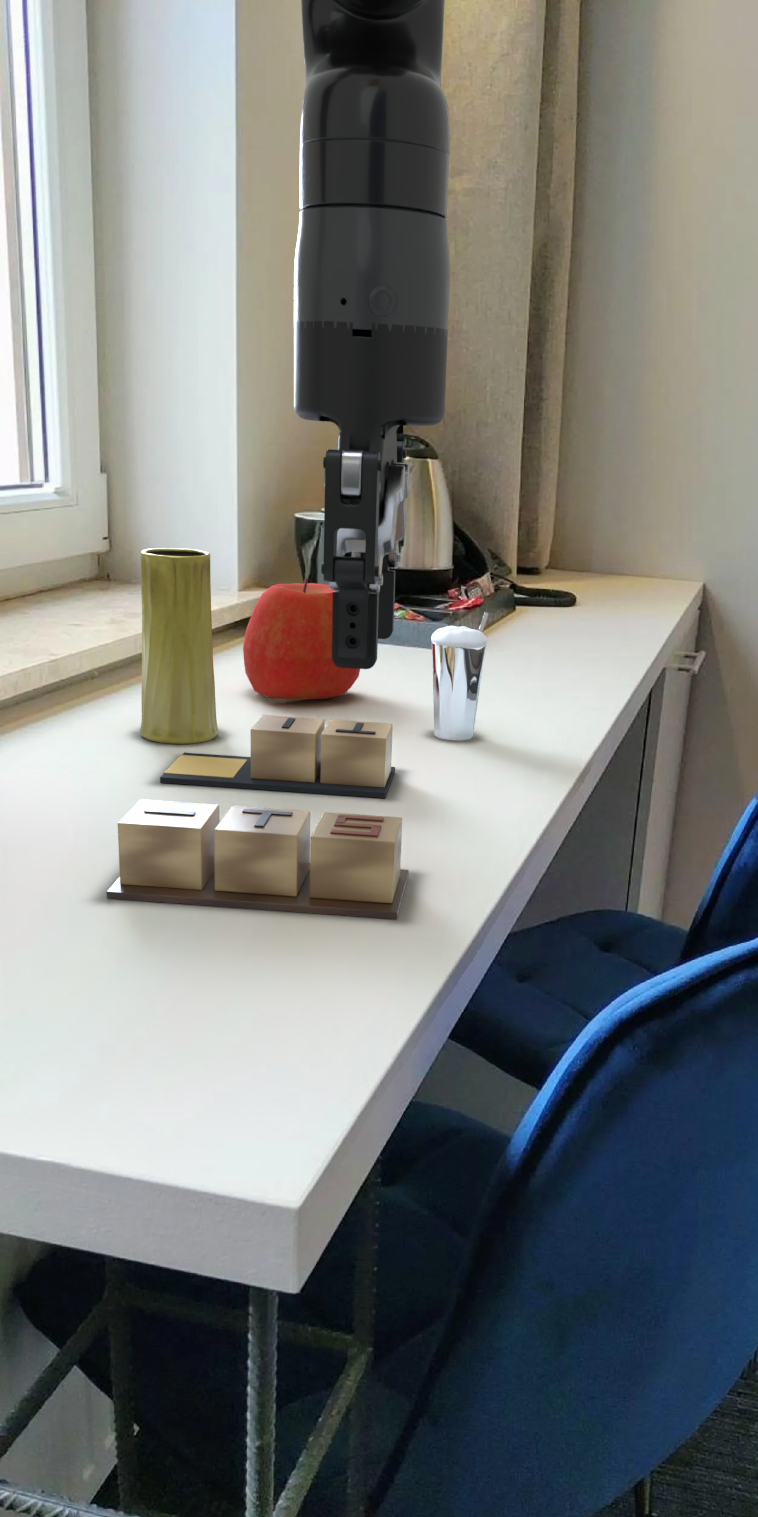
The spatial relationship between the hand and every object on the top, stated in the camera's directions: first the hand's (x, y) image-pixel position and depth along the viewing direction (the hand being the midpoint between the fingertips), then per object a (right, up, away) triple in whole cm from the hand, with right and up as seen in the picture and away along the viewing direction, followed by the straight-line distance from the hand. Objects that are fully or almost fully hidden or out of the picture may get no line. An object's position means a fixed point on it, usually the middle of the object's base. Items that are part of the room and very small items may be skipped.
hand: (364, 651), depth 71 cm
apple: (-9, +6, +51) cm, 53 cm away
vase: (-17, 0, +36) cm, 40 cm away
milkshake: (+5, +1, +41) cm, 41 cm away
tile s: (-1, -12, +5) cm, 13 cm away
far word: (-8, -4, +26) cm, 28 cm away
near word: (-6, -12, +5) cm, 15 cm away
